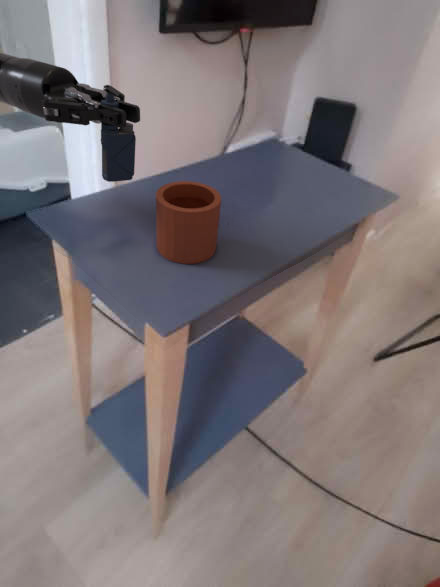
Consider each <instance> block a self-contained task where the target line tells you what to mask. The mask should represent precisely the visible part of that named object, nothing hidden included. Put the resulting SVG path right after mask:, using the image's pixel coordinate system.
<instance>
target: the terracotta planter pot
mask: <svg viewBox="0 0 440 587" xmlns="http://www.w3.org/2000/svg"><path fill="white" fill-rule="evenodd" d="M221 206H222V196H221V194H220V192H219V191H218V190H217V189H215V188H214V187H212V186H210V185H208V184H204V183H203V182H197V181H192V180H191V181H189V180H187V181H186V180H182V181H181V180H179V181H173V182H172V181H171V182H169V183H166V184H164V185H162V186H160V187H159V188H158V189H157V190H156V192H155V216H156V217H155V224H156V226H155V228H156V233H155V234H156V249H157V252H158V253H159V254H160V255H161V256H162V258H165V259H166V260H168V261H171V262H173V263H176V264H181V265H182V264H183V265H194V264H195V265H196V264H199V263H203V262H206V261H208V260H209V259H211V258H212V257H213V256H214V255H215V253H216V250H217V245H218V236H219V235H218V234H219V226H220V215H221Z"/></svg>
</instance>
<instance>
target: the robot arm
mask: <svg viewBox="0 0 440 587" xmlns="http://www.w3.org/2000/svg"><path fill="white" fill-rule="evenodd" d="M106 94H112V95H114V101H116V102H118V103H119V109H118V108H115V107H112V106H108V105H105V104H104V105H101V101H102V100H106ZM125 99H126V95H125V94H124V93H123V92H121V91H120V90H118V89H116V88H115V87H114V86H112V85H110V84H105V85H103V89H100V88H96V87H92V86H90V85H89V84H86V83H80V82H79V81H78V80H77V78H76V76H75V75H74V74H73V73H72V71H70V70H68V69H67V68H65V67H61V66H58V65H54V64H51V63H47V62H43V61H40V60H36V59H33V58H27V57H18V56H14V55H10V54H7V53H3V52H0V103H2V104H6V105H9V106H12V107H15V108H17V109H19V110H20V111H22V112H24V113H27V114H31V115H33V116H35V117H36V116H37V117H39V118H43V119H44V120H45V121H47V122H53V123H59V124H71V125H79V126H80V125H81V126H89V125H90V123H91V122H92V123H94V124H101V123H102V122H103V123H106V124H110V125H113V126H116V127H118V129H119V128H123V127H126V122H129V123H132V124H137V123H139V122H140V121H141V108H140V106H139V105H137V104H133V103H130V102H126V100H125Z"/></svg>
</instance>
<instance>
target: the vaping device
mask: <svg viewBox="0 0 440 587" xmlns="http://www.w3.org/2000/svg"><path fill="white" fill-rule="evenodd" d="M104 104H105V105H108V106H112V107H115V108H118V109H119V103H118V102H116V101H114V95H112V94H106V100H102V101H101V105H104ZM100 125H101V126H100V128H101V129H100V144H101V178H102V179H103V180H104V181H105V182H109V183H113V182H115V183H116V182H124V181H132V180H133V178H134V175H135V166H136V165H135V164H136V145H137V144H136V143H137V142H136V141H137V139H136V138H137V137H136V134H135V132H136V131H134V123H132V122H128V121H126V127H123V128H119V127H116V126H113V125H110V124H106V123H103V122H102V123H100Z"/></svg>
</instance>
